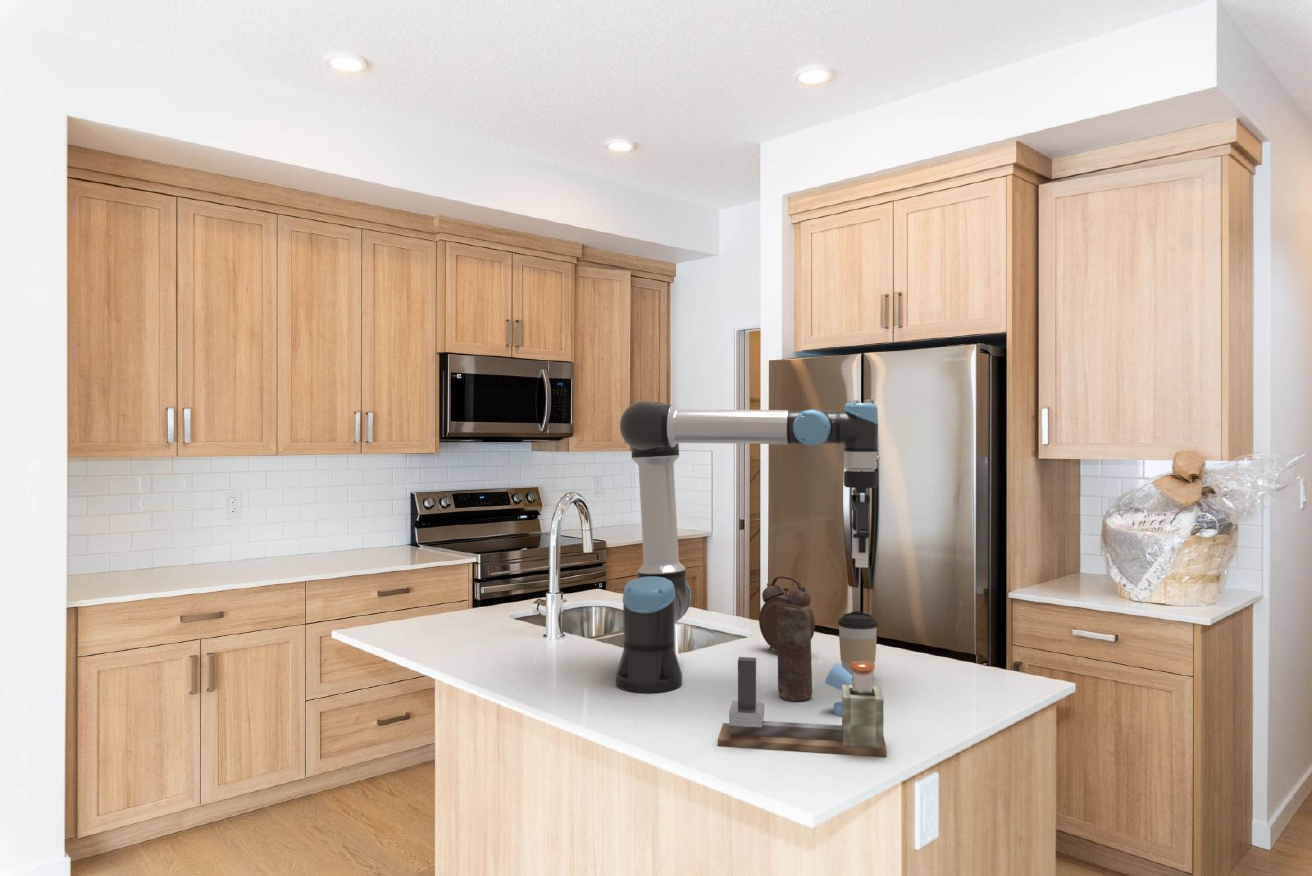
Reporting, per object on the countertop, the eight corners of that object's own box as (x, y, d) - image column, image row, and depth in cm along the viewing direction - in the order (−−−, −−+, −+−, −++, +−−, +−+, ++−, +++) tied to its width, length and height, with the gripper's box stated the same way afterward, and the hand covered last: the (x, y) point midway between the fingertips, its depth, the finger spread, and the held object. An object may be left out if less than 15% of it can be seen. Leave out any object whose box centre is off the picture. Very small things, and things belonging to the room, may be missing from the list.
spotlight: (822, 713, 179) (855, 718, 176) (822, 664, 179) (855, 669, 175) (830, 706, 183) (863, 712, 180) (830, 659, 183) (863, 663, 180)
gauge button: (850, 709, 158) (850, 666, 158) (849, 702, 163) (849, 660, 163) (875, 711, 158) (875, 667, 157) (873, 703, 162) (873, 661, 162)
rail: (717, 745, 161) (717, 691, 160) (723, 729, 169) (723, 677, 169) (886, 756, 155) (886, 700, 155) (882, 739, 164) (883, 685, 164)
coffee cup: (878, 685, 199) (878, 619, 199) (837, 682, 201) (837, 617, 201) (876, 674, 208) (876, 611, 208) (837, 672, 210) (837, 609, 209)
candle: (770, 694, 192) (770, 602, 192) (799, 690, 195) (799, 600, 195) (789, 704, 185) (789, 609, 185) (818, 699, 188) (819, 606, 188)
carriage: (729, 725, 161) (729, 663, 161) (732, 713, 168) (732, 653, 168) (761, 727, 160) (761, 664, 160) (764, 715, 167) (764, 655, 167)
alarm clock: (818, 656, 224) (818, 578, 224) (801, 661, 219) (801, 581, 219) (773, 646, 235) (773, 571, 235) (756, 650, 230) (756, 574, 230)
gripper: (882, 473, 188) (881, 571, 188) (873, 468, 213) (872, 555, 213) (846, 472, 189) (845, 570, 190) (841, 467, 214) (840, 554, 214)
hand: (859, 562), depth 201 cm, fingers open, 13 cm apart
